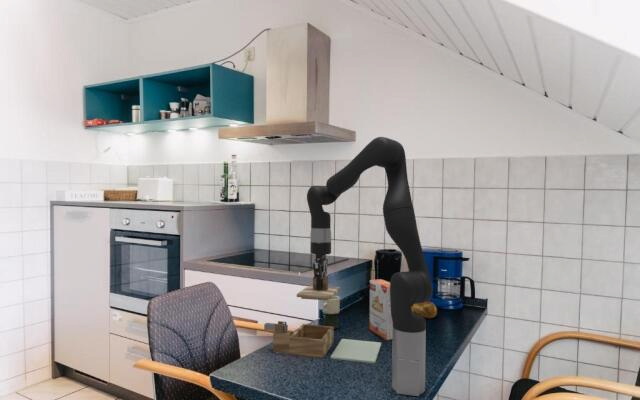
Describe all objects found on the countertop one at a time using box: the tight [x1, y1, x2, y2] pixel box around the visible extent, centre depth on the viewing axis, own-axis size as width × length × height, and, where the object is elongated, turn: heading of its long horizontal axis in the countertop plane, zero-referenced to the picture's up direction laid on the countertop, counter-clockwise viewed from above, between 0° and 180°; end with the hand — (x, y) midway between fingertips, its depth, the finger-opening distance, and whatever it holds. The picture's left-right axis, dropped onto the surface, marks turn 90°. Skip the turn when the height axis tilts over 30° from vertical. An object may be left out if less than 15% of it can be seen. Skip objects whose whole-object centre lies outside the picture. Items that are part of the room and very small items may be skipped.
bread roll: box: [411, 301, 438, 319], centre depth 194 cm, size 13×10×8 cm
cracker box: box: [369, 278, 393, 341], centre depth 166 cm, size 14×6×21 cm, turn 21°
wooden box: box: [272, 320, 335, 359], centre depth 150 cm, size 16×18×10 cm
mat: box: [330, 338, 382, 364], centre depth 148 cm, size 19×15×1 cm
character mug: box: [322, 295, 341, 330], centre depth 174 cm, size 11×7×13 cm, turn 142°
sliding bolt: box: [263, 321, 289, 332], centre depth 147 cm, size 2×8×3 cm, turn 75°
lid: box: [296, 275, 341, 301], centre depth 149 cm, size 16×12×6 cm
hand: (320, 288), depth 151 cm, fingers closed on lid, 3 cm apart
